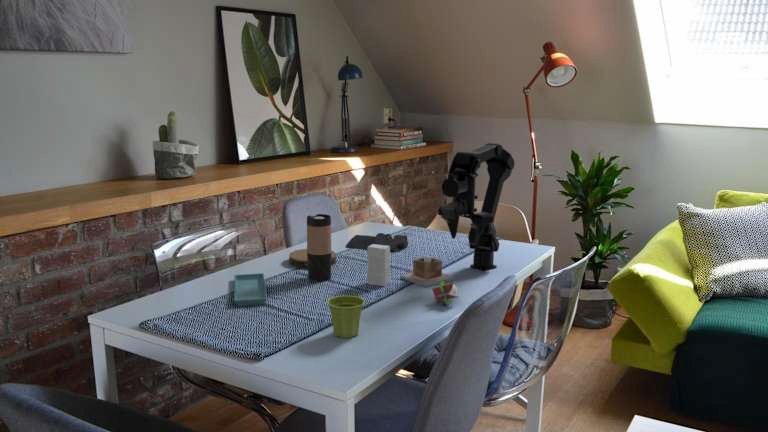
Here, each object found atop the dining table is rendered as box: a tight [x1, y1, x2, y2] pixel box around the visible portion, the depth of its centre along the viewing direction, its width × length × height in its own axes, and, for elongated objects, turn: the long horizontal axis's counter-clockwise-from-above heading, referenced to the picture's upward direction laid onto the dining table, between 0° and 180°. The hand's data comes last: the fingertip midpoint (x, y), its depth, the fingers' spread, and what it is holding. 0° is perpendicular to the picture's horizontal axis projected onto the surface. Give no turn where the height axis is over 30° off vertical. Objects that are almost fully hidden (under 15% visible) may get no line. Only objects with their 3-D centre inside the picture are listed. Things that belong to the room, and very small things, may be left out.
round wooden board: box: [288, 248, 337, 269], centre depth 246 cm, size 16×16×3 cm
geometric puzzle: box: [432, 279, 459, 306], centre depth 205 cm, size 7×7×8 cm
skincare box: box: [366, 244, 391, 287], centre depth 222 cm, size 6×4×12 cm
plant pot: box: [326, 295, 366, 339], centre depth 181 cm, size 9×9×9 cm
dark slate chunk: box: [345, 232, 409, 254], centre depth 268 cm, size 15×22×5 cm
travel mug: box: [306, 213, 333, 283], centre depth 226 cm, size 8×8×20 cm
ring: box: [412, 256, 443, 280], centre depth 227 cm, size 6×6×5 cm
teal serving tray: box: [233, 273, 268, 307], centre depth 214 cm, size 26×9×2 cm, turn 11°
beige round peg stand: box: [400, 255, 455, 288], centre depth 227 cm, size 12×12×7 cm
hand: (464, 241), depth 227 cm, fingers open, 9 cm apart
